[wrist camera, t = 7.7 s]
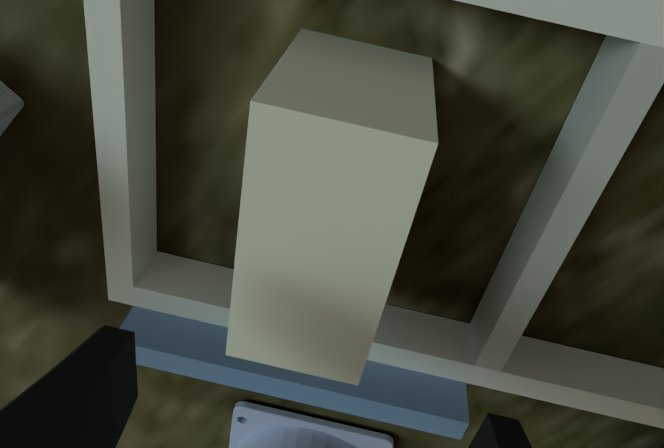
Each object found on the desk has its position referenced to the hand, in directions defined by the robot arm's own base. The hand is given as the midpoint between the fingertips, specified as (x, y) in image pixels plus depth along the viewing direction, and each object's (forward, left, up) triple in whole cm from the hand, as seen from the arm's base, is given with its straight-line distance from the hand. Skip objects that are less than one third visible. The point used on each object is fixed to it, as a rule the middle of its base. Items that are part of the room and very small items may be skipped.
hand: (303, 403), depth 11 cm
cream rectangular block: (+1, +1, -10) cm, 10 cm away
